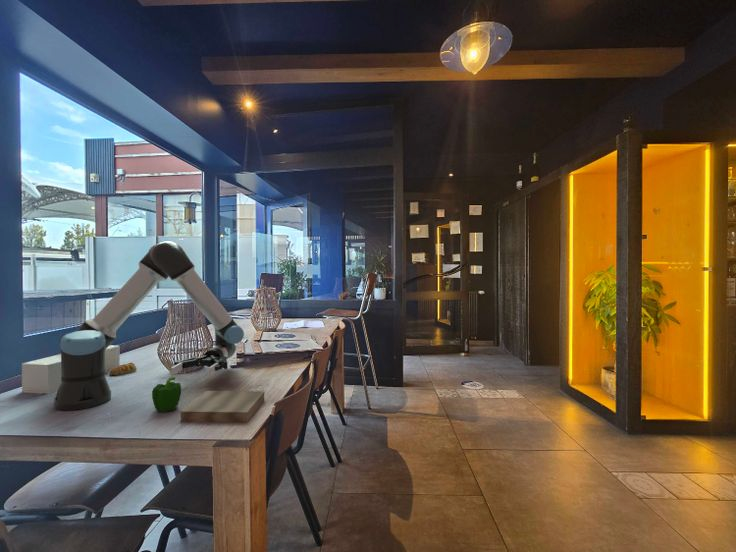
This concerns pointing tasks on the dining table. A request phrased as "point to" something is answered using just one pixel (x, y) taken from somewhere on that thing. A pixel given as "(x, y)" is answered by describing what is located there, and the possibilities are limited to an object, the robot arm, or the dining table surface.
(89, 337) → the robot arm
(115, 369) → the pastry
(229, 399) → the walnut board
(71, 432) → the dining table surface
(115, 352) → the long cream beam
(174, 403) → the bell pepper
